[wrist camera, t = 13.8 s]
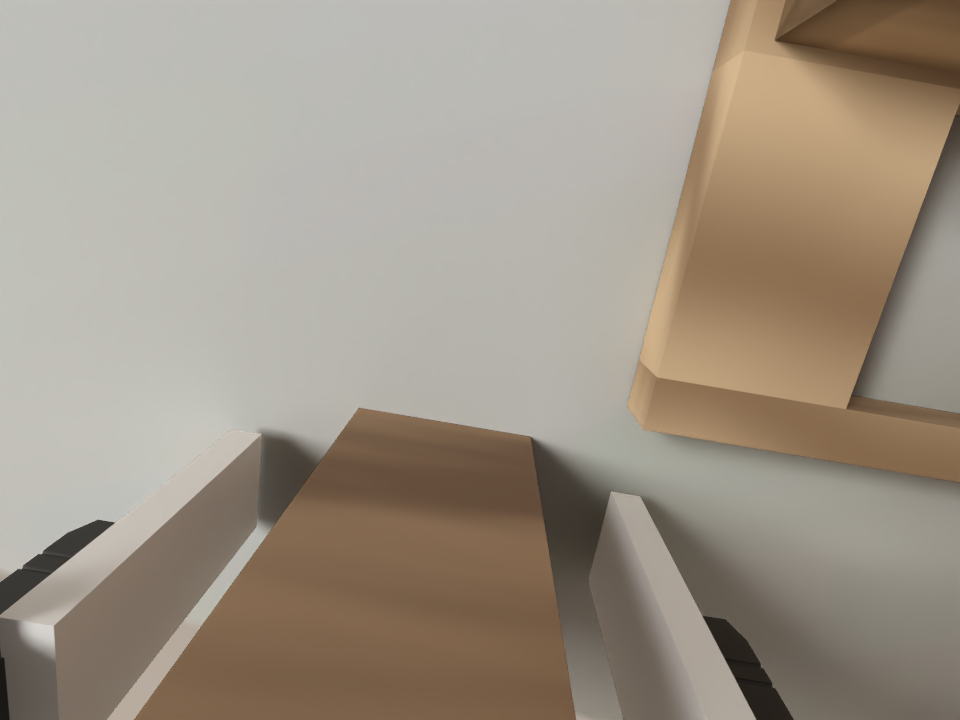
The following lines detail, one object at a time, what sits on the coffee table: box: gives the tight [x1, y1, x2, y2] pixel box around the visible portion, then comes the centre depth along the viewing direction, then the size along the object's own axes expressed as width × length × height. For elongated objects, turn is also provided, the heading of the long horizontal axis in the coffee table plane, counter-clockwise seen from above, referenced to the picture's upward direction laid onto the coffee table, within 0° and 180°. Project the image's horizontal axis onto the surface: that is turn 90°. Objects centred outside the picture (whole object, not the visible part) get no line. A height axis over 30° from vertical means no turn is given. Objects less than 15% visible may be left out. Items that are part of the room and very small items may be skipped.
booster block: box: [134, 408, 576, 720], centre depth 10 cm, size 4×4×9 cm
